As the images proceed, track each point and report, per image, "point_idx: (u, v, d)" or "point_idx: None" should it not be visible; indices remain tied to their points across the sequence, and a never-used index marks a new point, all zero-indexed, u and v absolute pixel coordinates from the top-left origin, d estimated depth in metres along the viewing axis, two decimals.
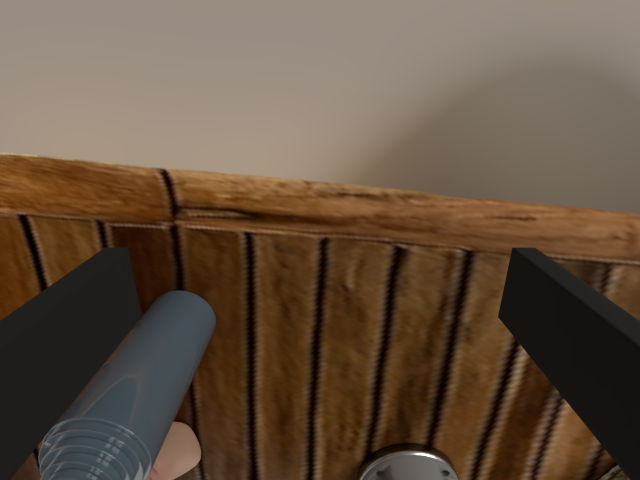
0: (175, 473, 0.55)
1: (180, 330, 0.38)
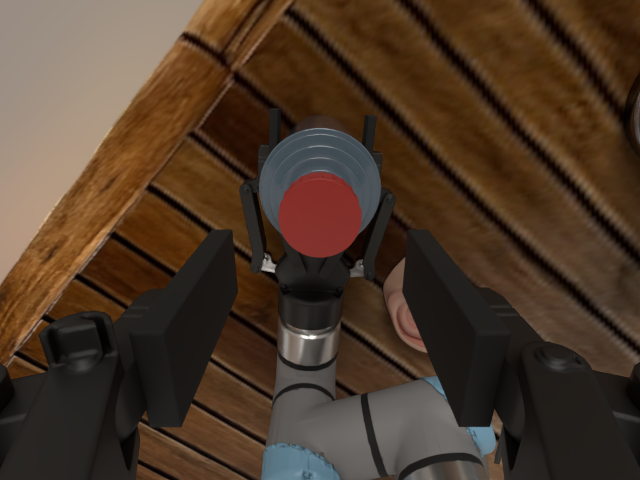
0: None
1: (311, 118, 0.35)
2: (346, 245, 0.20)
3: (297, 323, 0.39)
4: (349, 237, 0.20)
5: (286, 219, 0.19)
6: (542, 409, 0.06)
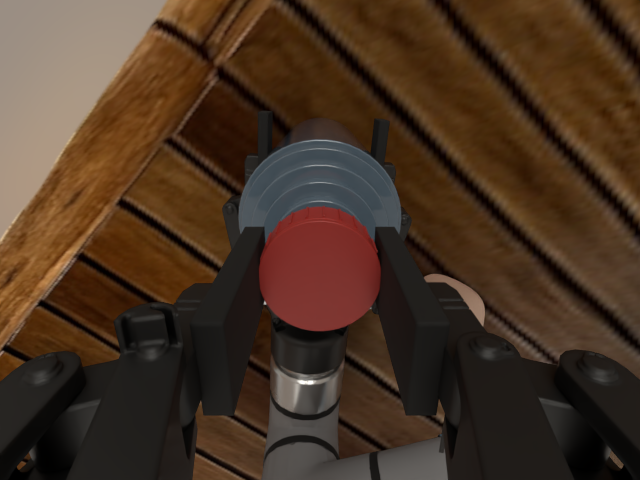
0: None
1: (309, 123, 0.28)
2: (358, 315, 0.13)
3: (293, 366, 0.33)
4: (363, 304, 0.13)
5: (270, 279, 0.13)
6: (474, 398, 0.06)
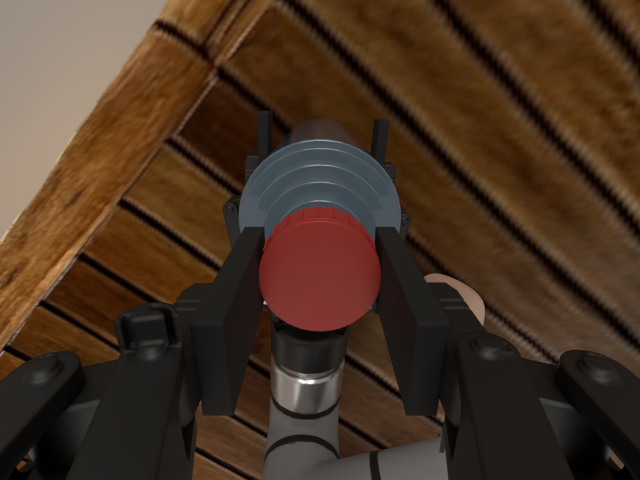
0: None
1: (309, 123, 0.29)
2: (367, 247, 0.12)
3: (293, 366, 0.33)
4: (354, 241, 0.12)
5: (313, 321, 0.14)
6: (475, 398, 0.06)
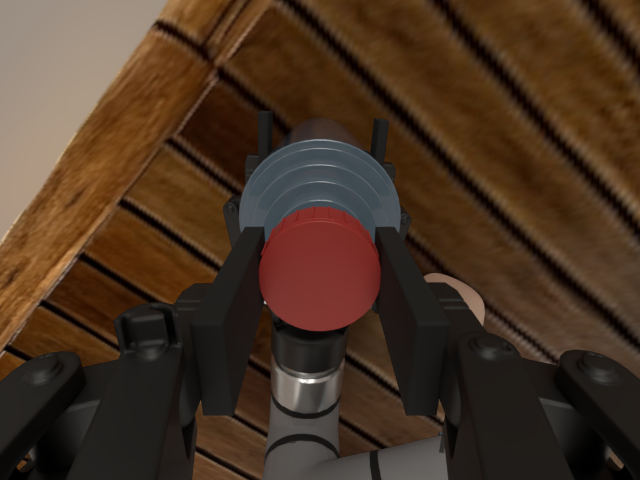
0: None
1: (309, 123, 0.29)
2: (288, 233, 0.12)
3: (293, 365, 0.33)
4: (281, 244, 0.12)
5: (367, 290, 0.13)
6: (475, 398, 0.06)
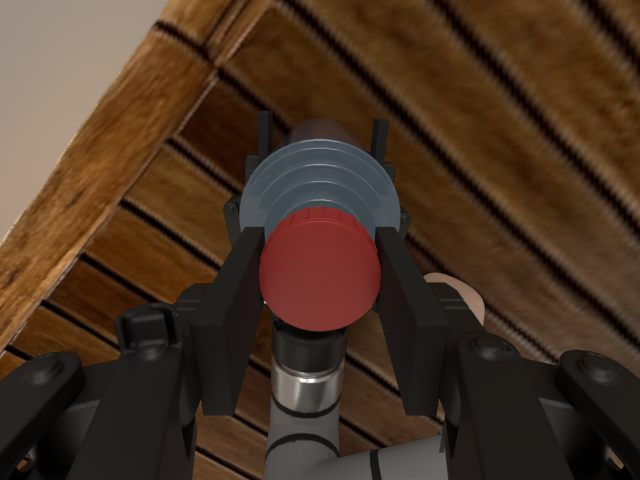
0: None
1: (309, 123, 0.29)
2: (268, 300, 0.13)
3: (293, 365, 0.33)
4: (279, 307, 0.13)
5: (338, 236, 0.12)
6: (475, 398, 0.06)
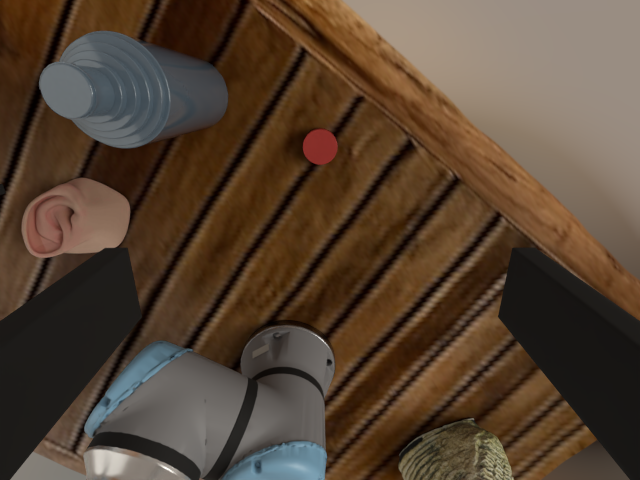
0: (85, 245, 0.52)
1: (209, 80, 0.39)
2: (324, 162, 0.47)
3: None
4: (327, 160, 0.47)
5: (307, 140, 0.46)
6: None
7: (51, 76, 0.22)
